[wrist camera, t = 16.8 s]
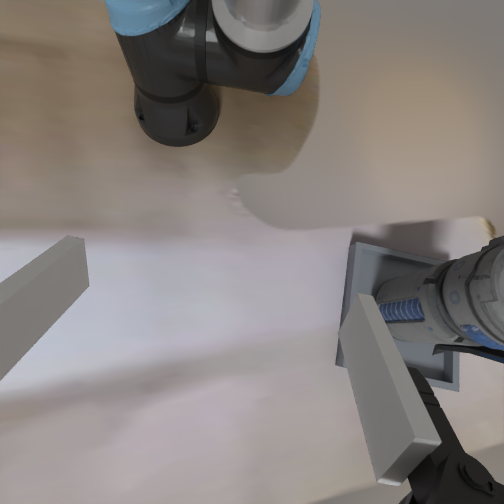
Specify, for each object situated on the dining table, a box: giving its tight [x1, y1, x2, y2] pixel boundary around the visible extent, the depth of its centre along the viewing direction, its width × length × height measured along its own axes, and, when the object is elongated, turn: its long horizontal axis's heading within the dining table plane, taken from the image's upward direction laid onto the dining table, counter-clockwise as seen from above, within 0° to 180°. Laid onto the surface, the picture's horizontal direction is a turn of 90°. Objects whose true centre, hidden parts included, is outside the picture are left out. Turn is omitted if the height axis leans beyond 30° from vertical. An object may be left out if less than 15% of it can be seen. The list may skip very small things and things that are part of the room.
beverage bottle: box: [374, 236, 504, 363], centre depth 36 cm, size 10×13×25 cm
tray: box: [336, 242, 459, 392], centre depth 47 cm, size 20×18×3 cm
